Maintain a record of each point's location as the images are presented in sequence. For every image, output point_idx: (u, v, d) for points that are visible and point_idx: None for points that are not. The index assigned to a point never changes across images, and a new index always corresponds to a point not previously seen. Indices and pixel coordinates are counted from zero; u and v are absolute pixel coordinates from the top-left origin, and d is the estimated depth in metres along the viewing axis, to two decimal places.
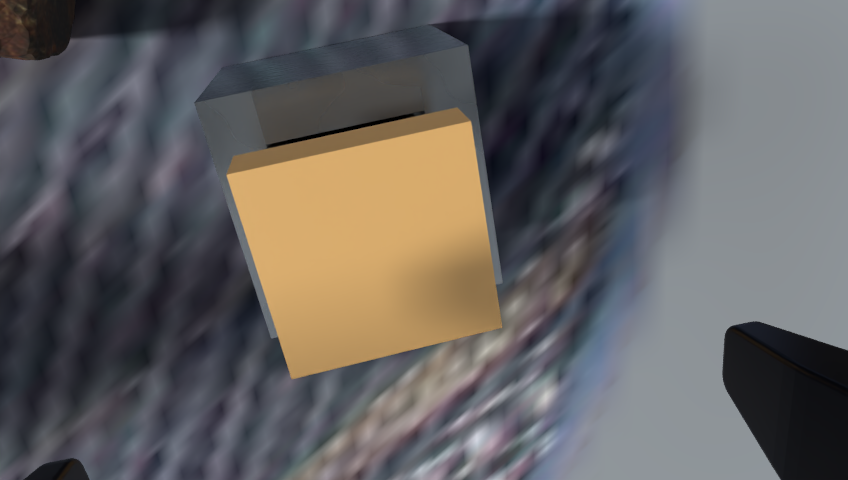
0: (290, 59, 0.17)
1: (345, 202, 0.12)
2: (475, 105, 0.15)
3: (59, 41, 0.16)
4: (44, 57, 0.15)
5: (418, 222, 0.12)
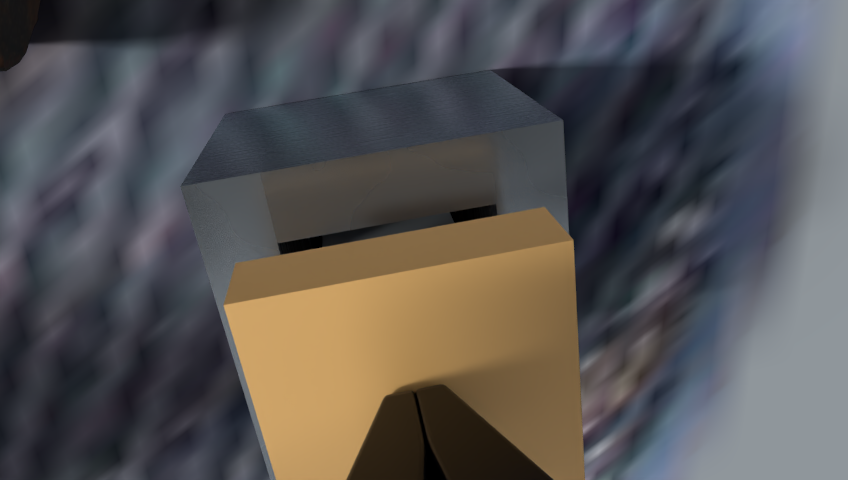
0: (313, 111, 0.14)
1: (390, 341, 0.09)
2: (565, 199, 0.11)
3: (9, 52, 0.12)
4: None
5: (487, 370, 0.09)
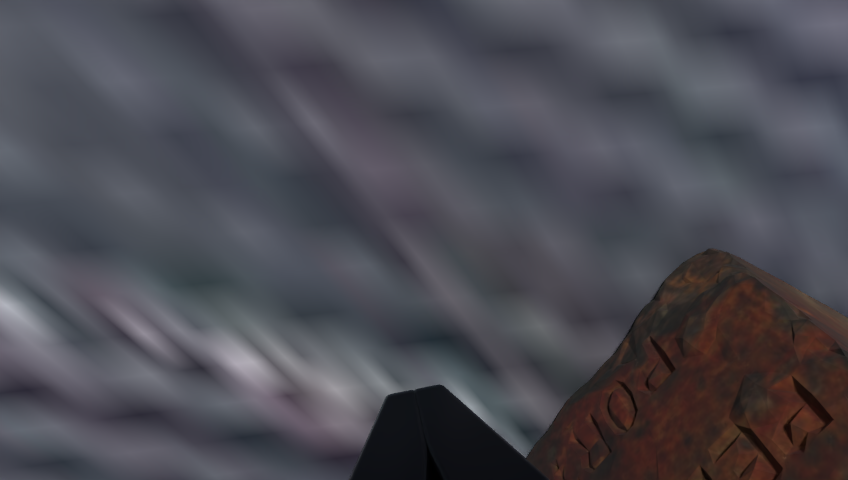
0: None
1: None
2: None
3: None
4: None
5: None
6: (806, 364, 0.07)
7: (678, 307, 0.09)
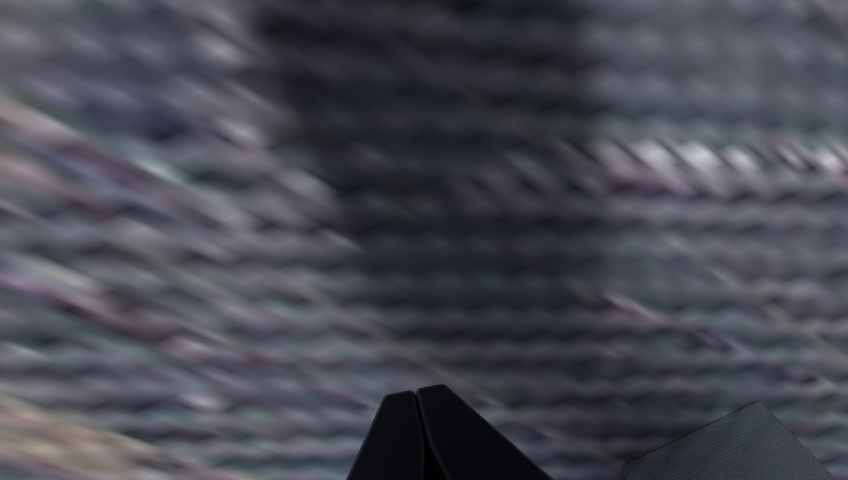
0: None
1: None
2: None
3: None
4: None
5: None
6: None
7: None
